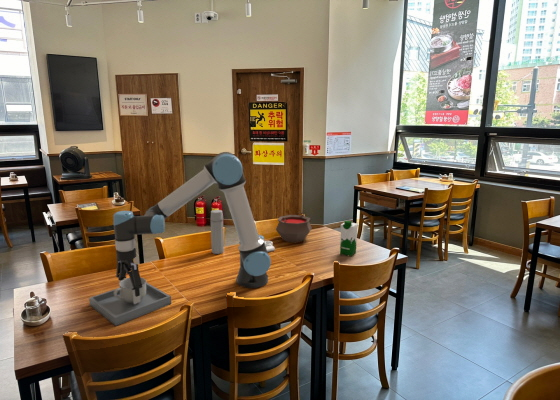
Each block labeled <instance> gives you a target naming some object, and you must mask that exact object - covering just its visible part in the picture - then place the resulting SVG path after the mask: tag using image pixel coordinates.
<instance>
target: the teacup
mask: <svg viewBox="0 0 560 400" xmlns="http://www.w3.org/2000/svg"><path fill="white" fill-rule="evenodd" d="M140 278H141V282H142V288H140V300H141V299H142V298H143V297H144V296H145V294H146V282H147V280H146V279H145V278H144V277H141V276H140ZM119 281H120V280H119ZM118 286H119V287H117V288H115V291H114V296H115V297H116V298H119V299H121V300H125V301H126V302H131V303H132V302H133V292H132V289H133V286H132V283H131V280H130V277H126V278H125V279H124V280H122V281H120V282H119V283H118ZM119 290H120V296H117V292H118V291H119Z"/></svg>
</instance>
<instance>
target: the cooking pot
mask: <svg viewBox="0 0 560 400" xmlns="http://www.w3.org/2000/svg"><path fill="white" fill-rule="evenodd" d="M310 220H311V217H308V216H306V215H305V213H304V212H303V211H302V212H301V213H300V215H299V214H298V215H297V214H287V215H283V216H279V217H278V218H277V221H278V224H277V226H276V227H275V228H276V229H275V231H276V232H277V233H278V234H279V236H280V237H281V239H282V240H283V241H285V242H286V243H295V242H296V243H300V241H301V242H303V241H305V239H306V237H307V236H308V235H309V233H310V232H311V231H312V226H311V223H310Z"/></svg>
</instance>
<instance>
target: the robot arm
mask: <svg viewBox="0 0 560 400" xmlns="http://www.w3.org/2000/svg"><path fill="white" fill-rule="evenodd" d="M246 183H247V180H246V177H245V174H244V170H243V164H242V162H241V160H240V159H239V158H238V157H237V156H236V155H235V154H233V153H232V152H230V151H222V152H220V153H218V154H216V155H215V156H214V157H213V158H212V159H211V160H210V161H209V162H208V163H206V164H205V165H204V166H203V169H202V170H200V171H199V172H198V173H197V174H196V175H194V176H193V177H192V178H190V179H189V180H187V181H186V182H184V183H183V184H181V186H179V187H177V188H176V189H175V190H174V191H172V192H171V193H169V194H168V195H167V196H166V197H164V198H163V199H161V200H160V201H159V202H157V203H156V204H155V205H154V206H151V207H149V208H148V209H146V211H145V214H144V215H134V213H133V211H131V210H120V211H117V212H114V214H113V220H112V221H113V224H112V225H113V230H114V231H113V232H114V244H115V249H116V254H115V255H116V275H115V277H116V278H117V279H118V280H119V283H120V281H122V280H124V279H126V278H127V275H128V276H129V277H128V278H130V280H131V283H132V286H133V289H132V292H133V303H134V304H136V303H139V302H141V300H140V288H142V282H141V278H142V277H141V275H140V270H139V264H138V263H135V261H134V259H135V258H136V257H137V248H136V235H156V234H163V233H164V232H165V231H166V230H165V228H166V222H165V220H166V219H168V217H170V216H171V215H172V214H174V213H175V212H177V211H178V210H179V209H181V208H182V207H183V206H185V205H186V204H187V203H189V202H190V201H192V200H193V199H195V198H196V197H197V196H199V195H200V194H201V193H202V192H204V191H205V190H207V189H208V188H210V187H211V186H212V185H213V184H217V188H218V190H219V191H221V192H223V194H224V197H225V200H226V204H227V206H228V210H229V213H230V215H231V216H230V217H231V219H232V221H233V224H234V227H235V231H236V235H237V237H238V240H239V242H238V243H239V245H238V251H239V270H238V272H237V273H238V274H237V276H236V284H237V285H238V286H240V287H243V288H246V289H247V288H248V289H255V288H261V287H264V286H266V285H267V284H268V283H269V275H268V273H267V272H268V271H269V269H270V267H271V265H272V264H271V263H272V259H271V256H270V254H269V253H268V252H267V249H266V246H265V243H264V242H265V241H266V240H265V237H264V235H261V234H259V232H258V228H257V225H256V222H255V219H254V216H253V212H252V209H251V206H250V202H249V200H248V196H247V192H246V190H245V187H244V186H245V184H246ZM140 277H141V278H140Z"/></svg>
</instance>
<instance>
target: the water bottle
mask: <svg viewBox="0 0 560 400" xmlns="http://www.w3.org/2000/svg"><path fill="white" fill-rule="evenodd" d="M223 214H224V213H223V210H221V209H214V210H211V211H210V241H211V243H210V244H211V253H212V254H214V255H221V254H223V253H224V251H225V249H224V248H225V247H224V215H223Z"/></svg>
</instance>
